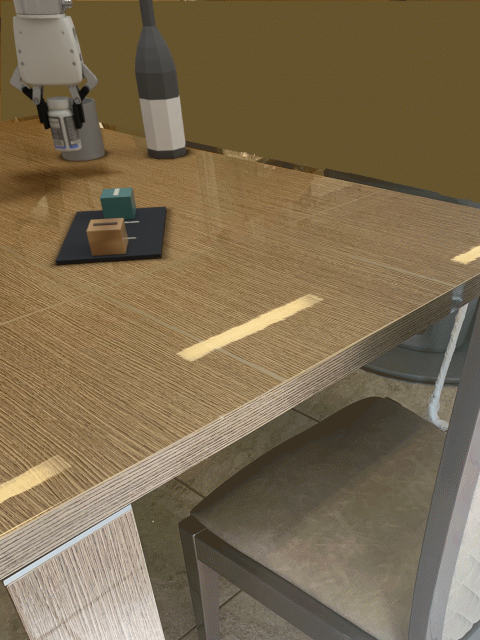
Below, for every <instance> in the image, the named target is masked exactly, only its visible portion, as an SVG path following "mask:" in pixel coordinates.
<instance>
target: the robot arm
mask: <svg viewBox="0 0 480 640" xmlns="http://www.w3.org/2000/svg"><path fill="white" fill-rule="evenodd" d="M12 1H13V6H14V10H15V13H16V15H14V16H13V17H12V25H13V36H14V46H15V52H16V58H17V65H16V67H15V69H14V71H13V73H12V75H11V77H10V79H9V83H10V85H11V86H13V88H16V89H17V90H18V91H20V92H21V93H22V94H24V95H25V97H27V98H28V99H29V100H30V101H32V103H33V104H34V105H35V107H36V110H37V114H38V119H39V123H40V124H43V128H44V130H49V129H50V124H49V120H48V115H47V112H48V111H49V110H50V108H48V106H47V101H46V100H45V98H44V86H67V89H68V90H69V93H70V95H71V98H73V105H72V108H73V114H74V119H75V124H76V128H78V129H81V128H82V126H83V123H85V116H84V110H83V105H82V101H83V100H84V98H85V97H86V98H87V96H88V95H89V93H90V92H91V91H92V90H93V89H94V88H95V87H96V86H97V85H98V84H99V83H100V82H99V79H98V77H97V76H96V75H95V74H94V73H93V72H92V70H90V68H89V66H87V65H86V64H85V62H84V59H83V54H82V50H81V45H80V42H79V38H78V34H77V31H76V28H75V24H74V22H73V19H72V16H70V15H66V12H67V10H68V9H73V8H74V4H73V0H12ZM85 79H86V80H87V81H86V83H84V85H83V86H82V87H81V89H80V87H79V84H80V83H82V82H83V81H84V80H85ZM31 86H32V87H31Z"/></svg>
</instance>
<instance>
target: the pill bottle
mask: <svg viewBox="0 0 480 640" xmlns="http://www.w3.org/2000/svg"><path fill="white" fill-rule="evenodd" d="M70 98H71V97H70V96H61V95H57V96H50V97H47V98H46V100H45V101H46V103H47V106H48V109H49V111H48V112H47V115H48V120H49V124H50V128H49V129H50V133H51V137H52V142H53V146H54V149H55V151H57V152H60V153H62V152H69V151H77V150H80V149H81V148H82V145H81V140H80V135H79V130H78V128H76V124H75V119H74V114H73V109H71V107H72V106H71V100H70Z"/></svg>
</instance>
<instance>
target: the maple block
mask: <svg viewBox="0 0 480 640" xmlns="http://www.w3.org/2000/svg"><path fill="white" fill-rule="evenodd" d="M86 232H87V236H88V240H89V245H90V249H91V253H92V256H101V255H116V254H126V250H127V245H128V238H127V232H126V227H125V222H124V218H113V219H96V220H91V221H90V223H89V226H88V229H87V231H86Z"/></svg>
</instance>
